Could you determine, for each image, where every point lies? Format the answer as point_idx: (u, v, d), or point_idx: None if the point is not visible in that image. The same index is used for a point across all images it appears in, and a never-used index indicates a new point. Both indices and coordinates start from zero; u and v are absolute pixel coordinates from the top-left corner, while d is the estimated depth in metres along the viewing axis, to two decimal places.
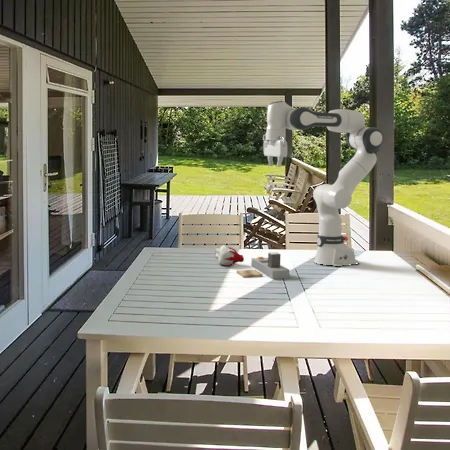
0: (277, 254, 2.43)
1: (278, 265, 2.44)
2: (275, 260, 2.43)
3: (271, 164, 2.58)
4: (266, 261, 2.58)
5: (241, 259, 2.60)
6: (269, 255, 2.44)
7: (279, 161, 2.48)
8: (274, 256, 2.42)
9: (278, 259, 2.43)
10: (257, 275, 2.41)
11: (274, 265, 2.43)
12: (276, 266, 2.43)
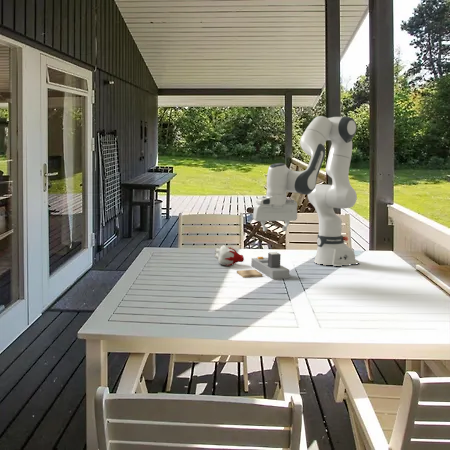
0: (277, 254, 2.43)
1: (278, 265, 2.44)
2: (275, 260, 2.43)
3: None
4: (266, 261, 2.58)
5: (241, 259, 2.60)
6: (269, 255, 2.44)
7: None
8: (274, 256, 2.42)
9: (278, 259, 2.43)
10: (257, 275, 2.41)
11: (274, 265, 2.43)
12: (276, 266, 2.43)
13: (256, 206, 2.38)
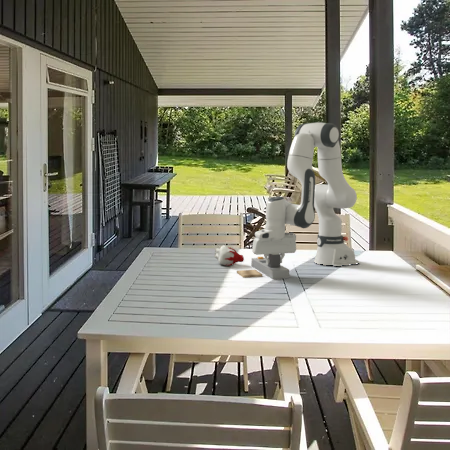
0: (277, 254, 2.43)
1: (278, 265, 2.44)
2: (275, 260, 2.43)
3: None
4: None
5: (241, 259, 2.60)
6: (269, 255, 2.44)
7: None
8: (274, 256, 2.42)
9: (278, 259, 2.43)
10: (257, 275, 2.41)
11: (274, 265, 2.43)
12: (276, 266, 2.43)
13: (255, 240, 2.41)
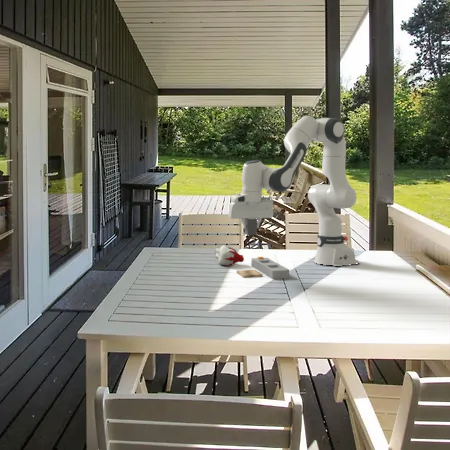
0: (254, 218, 2.39)
1: (255, 230, 2.40)
2: (251, 225, 2.39)
3: None
4: (266, 261, 2.58)
5: (241, 259, 2.60)
6: (246, 220, 2.40)
7: None
8: (250, 220, 2.38)
9: (255, 224, 2.39)
10: (257, 275, 2.41)
11: (251, 230, 2.39)
12: (253, 231, 2.39)
13: (231, 204, 2.37)
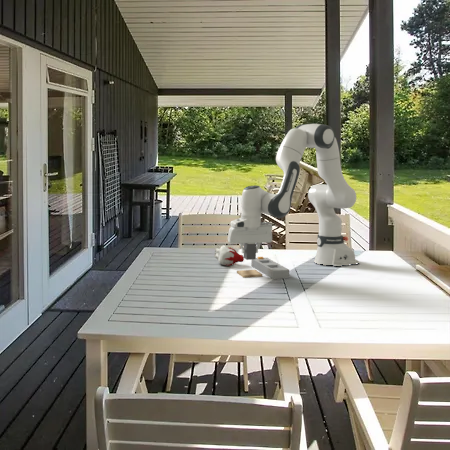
0: (253, 243, 2.40)
1: (254, 255, 2.41)
2: (251, 249, 2.40)
3: None
4: (266, 261, 2.58)
5: (241, 259, 2.60)
6: (245, 244, 2.42)
7: None
8: (249, 245, 2.40)
9: (254, 248, 2.41)
10: (257, 275, 2.41)
11: (250, 255, 2.41)
12: (252, 256, 2.41)
13: (230, 229, 2.38)
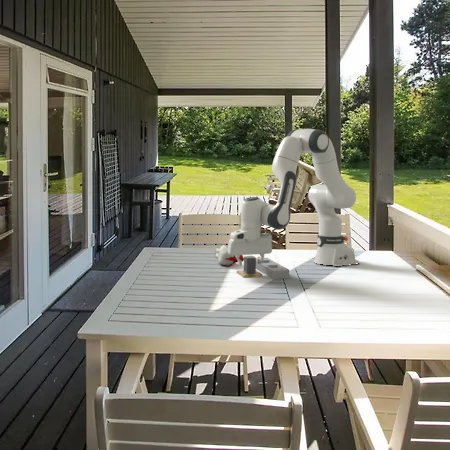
0: (253, 258, 2.42)
1: (254, 269, 2.42)
2: (250, 264, 2.41)
3: None
4: (266, 261, 2.58)
5: (241, 259, 2.60)
6: (245, 259, 2.43)
7: None
8: (249, 259, 2.41)
9: (254, 263, 2.42)
10: (257, 275, 2.41)
11: (250, 269, 2.42)
12: (252, 270, 2.42)
13: (230, 240, 2.39)
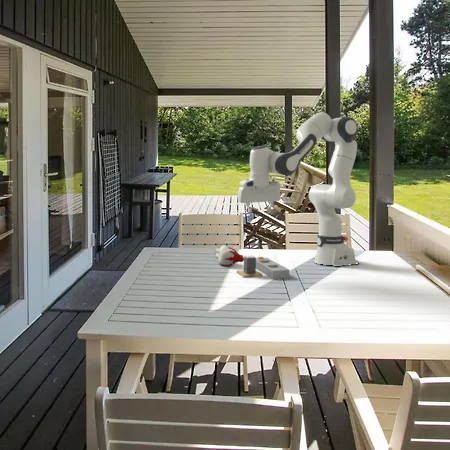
0: (253, 258, 2.42)
1: (254, 269, 2.42)
2: (250, 264, 2.41)
3: None
4: (266, 261, 2.58)
5: (241, 259, 2.60)
6: (245, 259, 2.43)
7: None
8: (249, 259, 2.41)
9: (254, 263, 2.42)
10: (257, 275, 2.41)
11: (250, 269, 2.42)
12: (252, 270, 2.42)
13: (240, 188, 2.46)
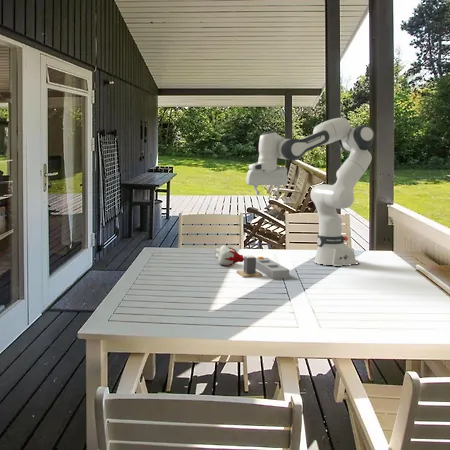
0: (253, 258, 2.42)
1: (254, 269, 2.42)
2: (250, 264, 2.41)
3: None
4: (266, 261, 2.58)
5: (241, 259, 2.60)
6: (245, 259, 2.43)
7: None
8: (249, 259, 2.41)
9: (254, 263, 2.42)
10: (257, 275, 2.41)
11: (250, 269, 2.42)
12: (252, 270, 2.42)
13: (249, 171, 2.57)
